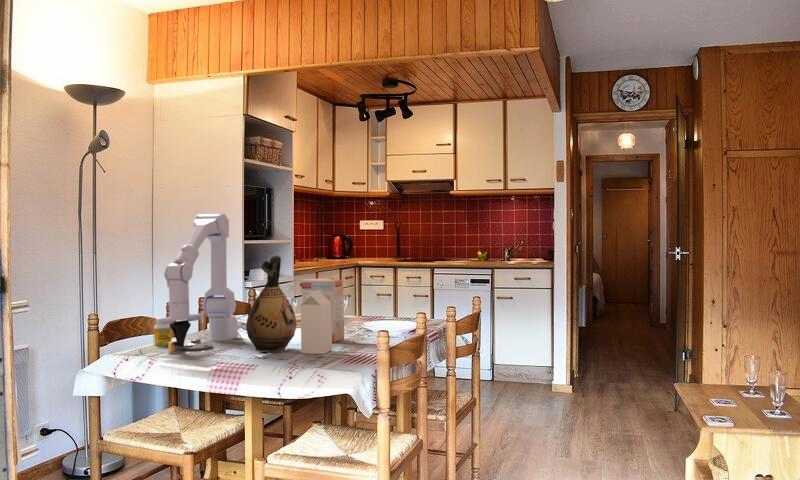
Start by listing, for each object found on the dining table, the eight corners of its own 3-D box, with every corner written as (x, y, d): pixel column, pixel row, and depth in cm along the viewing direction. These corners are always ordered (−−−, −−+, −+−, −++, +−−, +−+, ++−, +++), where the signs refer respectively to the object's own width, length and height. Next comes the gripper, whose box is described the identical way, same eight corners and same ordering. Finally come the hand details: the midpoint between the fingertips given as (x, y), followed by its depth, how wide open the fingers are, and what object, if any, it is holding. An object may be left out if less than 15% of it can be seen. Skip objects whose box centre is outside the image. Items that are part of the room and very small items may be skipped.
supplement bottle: (169, 344, 225) (168, 316, 225) (173, 347, 221) (172, 318, 220) (152, 346, 222) (151, 318, 222) (156, 349, 218) (155, 319, 217)
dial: (199, 343, 220) (199, 334, 220) (218, 346, 214) (218, 336, 214) (160, 351, 208) (159, 340, 208) (179, 354, 202) (179, 343, 202)
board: (196, 343, 226) (196, 340, 226) (241, 348, 217) (241, 344, 217) (148, 354, 209) (148, 350, 209) (195, 359, 199) (195, 355, 199)
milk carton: (332, 350, 209) (330, 290, 209) (322, 354, 203) (320, 292, 202) (311, 349, 212) (310, 289, 211) (301, 353, 205) (299, 292, 204)
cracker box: (345, 340, 228) (344, 278, 227) (334, 343, 223) (333, 280, 222) (313, 337, 235) (312, 277, 235) (302, 339, 230) (300, 279, 230)
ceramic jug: (290, 355, 203) (288, 256, 202) (240, 355, 204) (238, 257, 203) (302, 345, 220) (300, 254, 219) (256, 345, 221) (254, 254, 220)
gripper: (194, 299, 213) (195, 341, 214) (150, 303, 203) (151, 348, 203) (205, 300, 208) (207, 343, 209) (161, 305, 198) (162, 350, 198)
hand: (180, 346), depth 206 cm, fingers closed, pressing on dial
